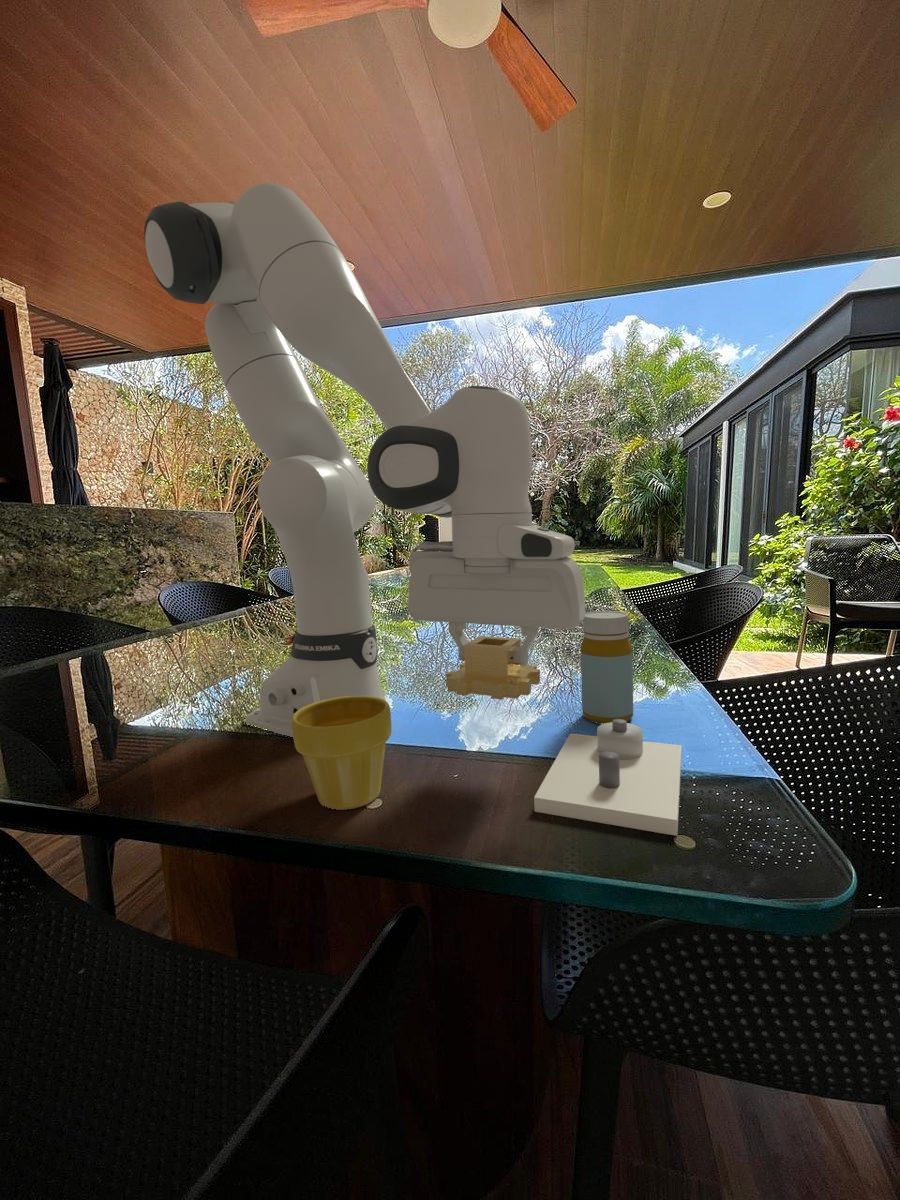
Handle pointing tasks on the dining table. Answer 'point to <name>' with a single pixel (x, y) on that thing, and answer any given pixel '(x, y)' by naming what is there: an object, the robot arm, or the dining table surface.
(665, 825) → the carrier plate
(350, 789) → the plant pot
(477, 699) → the dining table surface
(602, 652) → the bottle
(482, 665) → the gear
